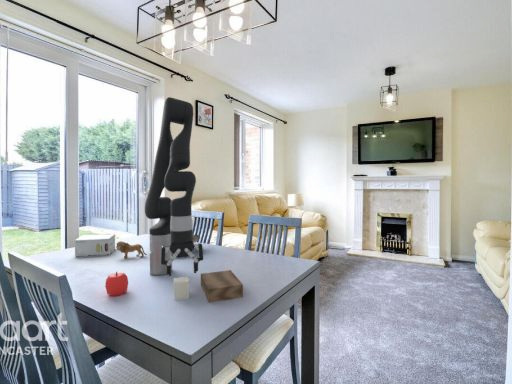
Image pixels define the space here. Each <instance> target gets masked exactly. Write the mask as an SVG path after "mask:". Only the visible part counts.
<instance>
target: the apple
mask: <svg viewBox="0 0 512 384" xmlns="http://www.w3.org/2000/svg"><path fill="white" fill-rule="evenodd" d="M128 286H129V279H128V276H127V274H126V273H124V272H118V271H116V272H115V273H112V274H109V275H108V276H107V277H106V279H105V286H104V287H105V290H106V294H107V295H109V296H112V295H113V297H116V295H117V296H121V295H123V294H125V293H126V292H127V291H128V288H129V287H128ZM120 294H121V295H120Z"/></svg>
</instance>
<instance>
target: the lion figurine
mask: <svg viewBox="0 0 512 384" xmlns="http://www.w3.org/2000/svg"><path fill="white" fill-rule="evenodd" d="M115 249H116V250H117V251H118V252H119V251H120V253H122V254H123V253H124V256H123V258H124V259H125V258H126V259H127V258H128V253H134V252H137V253H138V254H136V257H139V256H140V255H141V256H140V257H141V258H143V257H144V255H145V256H148V254H147V253H145V251H144V247H143V245H141V244H138V243H136V244H130V243H128V242H124V241H117V242H116V245H115Z"/></svg>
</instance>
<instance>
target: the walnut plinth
mask: <svg viewBox="0 0 512 384" xmlns="http://www.w3.org/2000/svg"><path fill="white" fill-rule="evenodd" d="M200 287H201V289H202V291H203V293H205V294H204V296H205V298H206V301H207V302H208V303H209V304H211V303H217V302H222V301H228V300H234V299H240V298H243V297H244V284H243V282H241V280H240V279H239V278H238V277H237V276H236V274H235V273H234V271H232V270H231V269H228V270H221V271H212V272H203V273H200Z"/></svg>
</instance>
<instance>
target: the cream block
mask: <svg viewBox="0 0 512 384" xmlns="http://www.w3.org/2000/svg"><path fill="white" fill-rule="evenodd" d="M173 296H174V297H173V299H174V300H173V301H178V300H177V299H180V300H184V298H187V299H190V279H189V276H181V277H174V278H173Z"/></svg>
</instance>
